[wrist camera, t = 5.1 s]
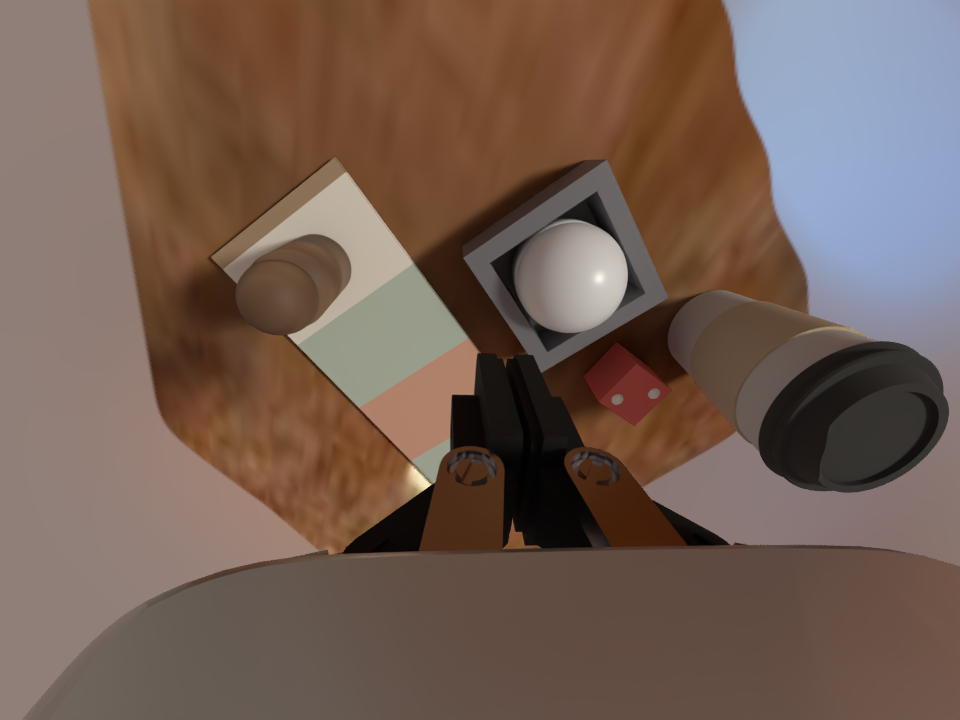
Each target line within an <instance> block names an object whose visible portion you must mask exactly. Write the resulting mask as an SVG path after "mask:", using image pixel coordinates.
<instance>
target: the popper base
mask: <svg viewBox="0 0 960 720" xmlns="http://www.w3.org/2000/svg"><path fill="white" fill-rule="evenodd" d="M558 217H571V218H576V219H580V220H582V221H585V222H587V223H589V224H592V225H594V226H596V227H598V228H600V229H602V230H603V231H605V232H606V233H608V234H609V235H610V236H611V237H612V238H613V239H614V240H615V241H616V242H617V243H618V245H619V246H620V248H621V250H622V252H623V254H624V256H625V259H626V264H627V270H628V281H627V287H626V291H625V294H624V297H623V299H622V301H621V303H620V304H619V306H618V308H617V309H616V310H615V312H614V313H613V314H612V315H611V316H610V317H609V318H608V319H607V320H605V321H604V322H603V323H601V324H600V325H598V326H596V327H594V328H592V329H589V330H586V331H582V332H577V333H562V332H557V331H553V330H550V329H548V328H546V327H544V326H542V325H540V324H539V323H537V322H536V321H535V320H534V319H533V318H532V317H531V316H530V315H529V314H528V313H527V311H526V310H525V309H524V307H523V305H522V303H521V301H520V299H519V297H518V296H517V294H516V292H515V289H514V287H513V284H512V279H511V264H512V259H513V255H514V252H515V250H516V248H517V246H518V244H519V243H520V242H522V241H523V240H525V239H526V238H528V237H529V236H531V235H532V234H534V233H535V232H537V231H538V230H540V229H541V228H543V227H544V226H546V225H547V224H549V223H550V222H552V221H553V220H555V219H556V218H558ZM462 253H463V258H464V260H465V261H466V263H467V264H468V266H469V267H470V269H471V270H472V272H473V273H474V275H475V276H476V278H477V279H478V281H479V282H480V284H481V285H482V287H483V288H484V290H485V291H486V292H487V294H488V295H489V297H490V298H491V300H492V301H493V303H494V304H495V306H496V307H497V309H498V310H499V312H500V313H501V315H502V316H503V318H504V319H505V321H506V322H507V324H508V325H509V327H510V328H511V330H512V331H513V333H514V334H515V336H516V337H517V338H518V340H519V341H520V343H521V344H522V346H523V347H524V349H525V350H526V352H527V353H528V355H533V356H534V358H535V360H536V362H537V365H538V367H539V369H540V372H541V373H542V372H544V371H545V370H547V369H549V368H550V367H552V366H554V365H555V364H557V363H559V362H561V361H562V360H564V359H566V358H567V357H569V356H571V355H572V354H574V353H576V352H578V351H579V350H581V349H583V348H584V347H586V346H588V345H589V344H591V343H593V342H594V341H596V340H598V339H600V338H601V337H603V336H605V335H606V334H608V333H610V332H611V331H613V330H615V329H617V328H618V327H620V326H622V325H623V324H625V323H627V322H628V321H630V320H632V319H633V318H635V317H637V316H639V315H640V314H642V313H644V312H645V311H647V310H649V309H650V308H652V307H654V306H655V305H657V304H659V303H661V302H662V301H664V300H666V299H667V298H668V296H667V294H666V292H665V289H664V287H663V285H662V283H661V280H660V278H659V276H658V274H657V271H656V269H655V267H654V265H653V262H652V260H651V258H650V256H649V253H648V251H647V249H646V247H645V244H644V242H643V240H642V238H641V235H640V233H639V231H638V229H637V226H636V224H635V222H634V220H633V217H632V215H631V213H630V211H629V208H628V206H627V204H626V202H625V199H624V197H623V195H622V192H621V190H620V188H619V186H618V183H617V181H616V179H615V177H614V174H613V172H612V170H611V168H610V165H609V163H608V161H607V160H585V161H584V162H582V163H581V164H579V165H578V166H576V167H575V168H573V169H572V170H571V171H569V172H568V173H566V174H565V175H563V176H562V177H560V178H559V179H558V180H556V181H555V182H553V183H552V184H550V185H549V186H547V187H546V188H545V189H543V190H542V191H540V192H539V193H537V194H536V195H534V196H533V197H532V198H530V199H529V200H527V201H526V202H524V203H523V204H521V205H520V206H519V207H517V208H516V209H514V210H513V211H511V212H510V213H509V214H507V215H506V216H504V217H503V218H501V219H500V220H498V221H497V222H496V223H494V224H493V225H491V226H490V227H488V228H487V229H485V230H484V231H483V232H481V233H480V234H478V235H477V236H475V237H474V238H472V239H471V240H470V241H468V242H467V243H465V244H464V245H462Z"/></svg>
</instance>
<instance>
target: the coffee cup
mask: <svg viewBox="0 0 960 720" xmlns="http://www.w3.org/2000/svg"><path fill="white" fill-rule="evenodd" d="M668 347H669V350H670V353H671V355H672V356H673V357H674V359H675V360H676V361H677V362H678V363H679V364H680V365H681V366H682V367H683V368H684V370H685V371H686V372H687V373H688V374H689V375H690V376H691V377H692V378H693V380H694V382H695V384H696V385H697V386H698V387H699V388H700V390H701V391H702V392H703V393H704V394H705V395H706V396H707V398H708V399H709V400H710V401H711V402H712V403H713V404H714V405H715V407H716V408H717V409H718V410H719V411H720V412H721V413H722V415H723V416H724V417H725V418H726V419H727V420H728V421H729V423H730V424H731V425H732V426H733V427H734V428H735V429H736V431H737V432H738V433H739V434H740V435H741V436H742V437H743V438H744V439H745V440H746V441H748V442H749V443H751V444H752V445H753V446H754V447H755V448H756V449H757V450H758V451H759V452H760V455H761V457H762V460H763V461H764V463H765V464H766V466H767V467H768V468H769V469H770V470H772V471H773V472H774V473H776V474H778V475H780V476H782V477H784V478H785V479H787V480H788V481H789V482H790V483H792V484H794V485H796V486H798V487H800V488H804V489H808V490H814V491H833V490H834V491H838V492H860V491H865V490H870V489H873V488H876V487H879V486H882V485H884V484H886V483H889V482H891V481H893V480H894V479H896V478H898V477H900V476H902V475H903V474H905V473H906V472H908V471H909V470H911V469H912V468H913V467H915V466H916V465H917V464H918V463H919V462H920V461H922V460H923V459H924V458H925V457H926V456H927V455H928V454H929V452H930V451H931V450H932V449H933V448H934V447H935V445H936V444H937V442H938V441H939V439H940V438H941V436H942V434H943V432H944V430H945V427H946V425H947V422H948V416H949V407H948V403H947V400H946V398H945V396H944V395H943V383H942V379H941V376H940V373H939V371H938V369H937V368H936V367H935V365H934V364H933V363H932V362H931V361H929V360H928V359H927V358H925V357H923V356H921V355H920V354H919V353H918V352H916V351H915V350H913V349H912V348H910V347H908V346H906V345H903V344H899V343H895V342H883V341H877V340H874V339H871V338H868V337H867V336H865V335H864V334H863V333H861V332H859V331H857V330H854V329H851V328H848V327H845V326H842V325H838V324H836V323H833V322H829V321H826V320H823V319H820V318H817V317H814V316H811V315H808V314H805V313H801V312H798V311H795V310H792V309H789V308H786V307H783V306H779V305H776V304H773V303H770V302H765V301H756V300H753V299H750V298H747V297H744V296H741V295H738V294H735V293H732V292H729V291H725V290H714V291H709V292H705V293H702V294H700V295H698V296H696V297H694V298H693V299H691V300H690V301H688V302H687V303H686V304H685V305H684V306H683V307H682V308H681V309H680V310H679V311H678V313H677V314H676V315H675V317H674V319H673V321H672V323H671V325H670V328H669V331H668Z"/></svg>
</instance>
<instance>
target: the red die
mask: <svg viewBox="0 0 960 720" xmlns="http://www.w3.org/2000/svg"><path fill="white" fill-rule="evenodd" d="M583 377H584V379H585V381H586V382H587V384H588V385H589V387H590V389H591V390H592V392H593V393H594V395H595V397H596V398H597V400H598V401H599V402H600V403H601V404H602V405H604V406H605V407H607V408H608V409H610V410H611V411H613V412H614V413H616V414H617V415H619V416H620V417H622V418H623V419H625V420H626V421H628V422H629V423H631V424H632V425H633V426H635V425H636V424H637V423H638V422H639V421H640V420H641V419H642V418H643V417H644V416H645V415H646V414H648V413H649V412H650V411H651V410H652V409H653V408H654V407H655V406H656V405H657V404H658V403H659V402H660V401H661V400H662V399H663V398H664V397H666V396H667V395H668V394H669V393H670V392H671V391H672V390H671V389H670V388H669V387H668V386H667V385H666V384H665V383H664V382H663V381H662V380H661V379H660V378H659V376H658V375H657V374H656V373H655V372H654V371H653V370H652V369H651V368H650V367H649V366H647V365H646V364H645V363H644V362H642V361H641V360H640V359H638V358H637V357H636V356H634V355H633V354H632V353H630V352H629V351H628V350H626V349H625V348H624V347H623V346H621V345H620V344H619V343H617V342H615V343H614V345H613V346H612V347H611V348H610V349H609V350H608V351H607V352H606V353H605V354H604V355H603V356H602V357H601V358H600V359H599V360H598V362H597V363H596V364H595V365H594V366H593V367H592V368H591V369H590V370H589V371H588V372H587V373H586V374H585V375H584V376H583Z"/></svg>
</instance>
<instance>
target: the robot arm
mask: <svg viewBox="0 0 960 720" xmlns="http://www.w3.org/2000/svg"><path fill="white" fill-rule="evenodd" d="M512 517H513V522H514V528H515V531H516V532H522V534H523V539H524V544H525V546H526V545H538V546H539V547H541V548H534V549H503V548H504V547H505V546H506V545H507V543H508V539H509V533H510V530H511V524H512ZM23 720H960V566H957V565H954V564H951V563H947V562H943V561H940V560H936V559H933V558H929V557H926V556H921V555H915V554H911V553H905V552H900V551H894V550H889V549H880V548H871V547H861V546H828V545H824V546H823V545H746V544H741V543H734V544H733V545H730V544H728V543H727V542H726V541H725V540H724V539H722V538H720V537H719V536H717V535H716V534H714V533H712V532H711V531H709V530H707V529H705V528H703V527H701V526H699V525H697V524H696V523H694V522H692V521H690V520H688V519H686V518H684V517H683V516H681V515H679V514H677V513H675V512H674V511H672V510H670V509H668V508H666V507H664V506H663V505H660V504H659V503H657V502H655V501H653V500H652V499H651V498H650V497H649V496H648V494H647V493H646V492H645V491H644V490H643V488H642V487H641V485H640V484H639V483H638V482H637V480H636V479H635V478H634V477H633V475H632V474H631V473H630V471H629V470H628V469H627V468H626V466H625V465H624V464H623V463H622V462H621V461H620V460H619V459H618V458H617V457H615V456H614V455H612V454H610V453H609V452H606V451H604V450H601V449H597V448H592V447H585V446H584V444H583V442H582V440H581V438H580V436H579V434H578V431H577V429H576V427H575V425H574V423H573V421H572V419H571V417H570V415H569V413H568V410H567V408H566V406H565V404H564V402H563V400H562V399H561V397H551V394H550V392H549V390H548V388H547V385H546V383H545V381H544V378H543V376H542V374H541V372H540V369H539V367H538V365H537V362H536V360H535V358H534V356H533V355H519V354H515V355H514V357H513V359H507V363H506V369H505V365H504V361H503V359H497V356H496V354H487V353H478V354H477V360H476V373H475V386H474V395H452V400H451V423H450V452H448V453H447V454H446V455H445V456H444V457H443V458H442V460H441V462H440V465H439V470H438V474H437V478H436V482H435V483H434V484H432V485H431V486H430V487H428V488H427V489H425V490H424V491H422V492H421V493H420V494H418V495H417V496H415V497H414V498H413V499H411V500H410V501H408V502H407V503H406V504H404V505H403V506H401V507H400V508H399V509H397V510H396V511H394V512H393V513H392V514H390V515H389V516H387V517H386V518H385V519H383V520H382V521H380V522H379V523H377V524H376V525H375V526H373V527H372V528H370V529H369V530H368V531H366V532H365V533H363V534H362V535H361V536H359V537H358V538H356V539H355V540H354V541H353V542H352V543H351V544H350V545H349V546H347V547H346V549H345V550H344V552H342V553H337V554H333V555H328V550H324V551H319V552H315V553H310V554H306V555H301V556H296V557H292V558H285V559H278V560H271V561H263V562H258V563H253V564H249V565H245V566H240V567H236V568H232V569H228V570H223V571H220V572H217V573H214V574H212V575H208V576H206V577H203V578H200V579H197V580H194V581H191V582H188V583H185V584H183V585H180V586H178V587H176V588H173V589H171V590H169V591H166V592H164V593H162V594H160V595H158V596H156V597H154V598H152V599H150V600H148V601H146V602H144V603H142V604H141V605H139V606H137V607H136V608H134V609H133V610H131V611H130V612H128V613H127V614H125V615H123V616H122V617H121V618H119V619H118V620H117V621H115V622H114V623H113V624H112V625H111V626H109V627H108V628H107V629H105V630H104V631H103V632H102V633H101V634H100V635H99V636H98V637H97V638H96V639H95V640H94V641H92V642H91V643H90V644H89V645H88V646H87V647H86V648H85V649H84V650H83V651H82V652H81V653H80V654H79V655H78V656H77V658H76V659H75V660H74V661H73V662H72V663H71V664H70V665H69V666H68V667H67V668H66V669H65V670H64V672H63V673H62V674H61V675H60V676H59V677H58V678H57V680H56V681H55V682H54V683H53V684H52V685H51V687H50V688H49V689H48V690H47V691H46V693H44V695H43V696H42V697H41V698H40V699H39V700H38V701H37V703H36V704H35V705H34V706H33V707H32V708H31V710H30V711H29V712H28V713H27V715H26V716H25V717H24V718H23Z"/></svg>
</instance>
